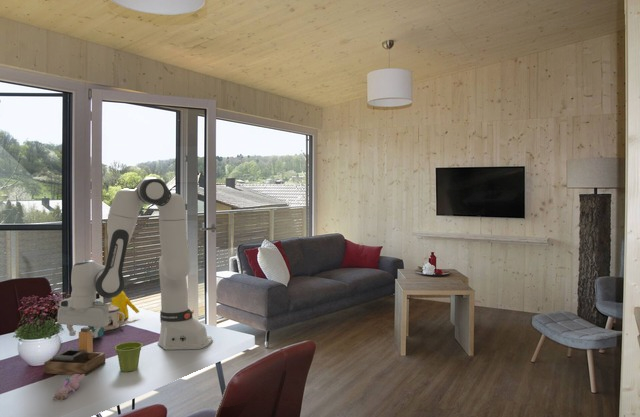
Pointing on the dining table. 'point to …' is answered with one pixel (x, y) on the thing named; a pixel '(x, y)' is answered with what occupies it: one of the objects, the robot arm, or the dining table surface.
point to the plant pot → (128, 355)
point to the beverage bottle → (92, 326)
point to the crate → (76, 365)
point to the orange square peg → (86, 339)
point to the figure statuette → (123, 304)
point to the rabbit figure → (69, 386)
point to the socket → (71, 356)
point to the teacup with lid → (113, 317)
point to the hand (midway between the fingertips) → (83, 336)
